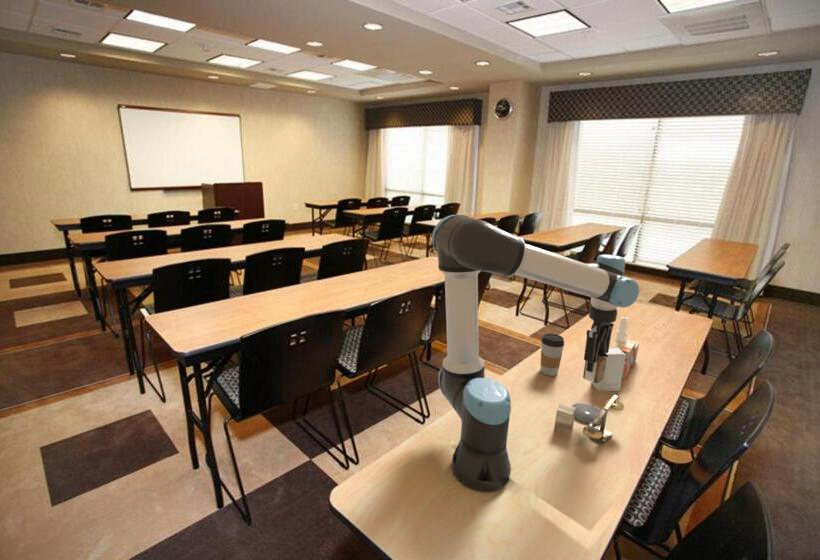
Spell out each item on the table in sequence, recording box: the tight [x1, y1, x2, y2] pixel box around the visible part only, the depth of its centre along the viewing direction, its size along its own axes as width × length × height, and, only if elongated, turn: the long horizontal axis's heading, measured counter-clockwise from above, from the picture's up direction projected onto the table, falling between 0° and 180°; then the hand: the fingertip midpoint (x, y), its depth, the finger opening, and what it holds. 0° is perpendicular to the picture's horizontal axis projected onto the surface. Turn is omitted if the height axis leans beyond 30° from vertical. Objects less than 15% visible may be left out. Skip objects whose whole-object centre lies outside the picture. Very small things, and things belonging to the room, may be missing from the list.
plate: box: [571, 402, 602, 425], centre depth 130 cm, size 10×10×1 cm
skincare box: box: [590, 347, 626, 392], centre depth 146 cm, size 8×6×15 cm
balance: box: [582, 394, 625, 445], centre depth 118 cm, size 19×5×11 cm, turn 132°
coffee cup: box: [540, 333, 565, 377], centre depth 156 cm, size 8×8×15 cm
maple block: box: [553, 402, 576, 437], centre depth 121 cm, size 4×4×7 cm
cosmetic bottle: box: [613, 316, 629, 345], centre depth 160 cm, size 6×6×22 cm
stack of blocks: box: [610, 338, 640, 381], centre depth 161 cm, size 21×6×12 cm, turn 140°
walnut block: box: [582, 355, 607, 383], centre depth 126 cm, size 4×4×7 cm
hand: (592, 377), depth 127 cm, fingers closed on walnut block, 4 cm apart
